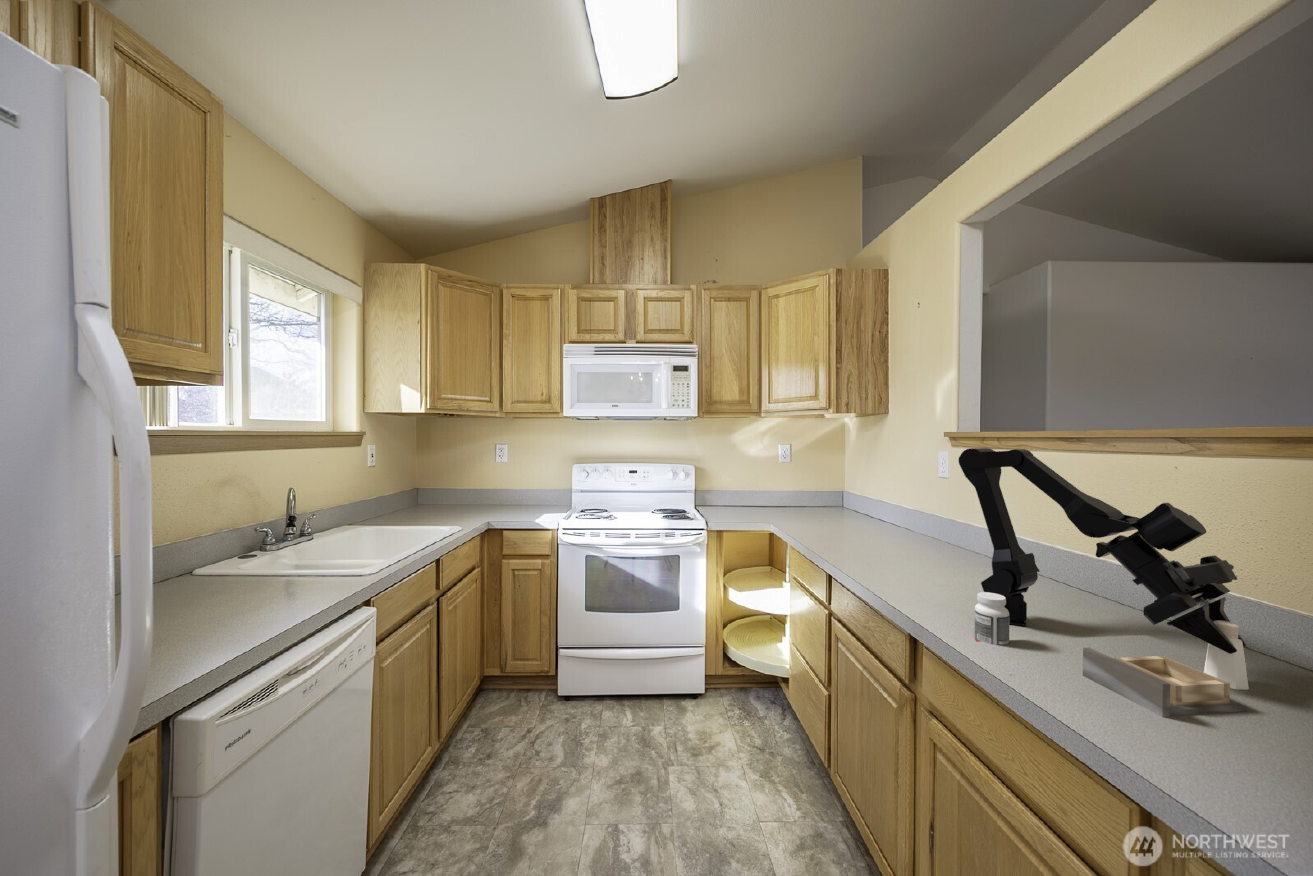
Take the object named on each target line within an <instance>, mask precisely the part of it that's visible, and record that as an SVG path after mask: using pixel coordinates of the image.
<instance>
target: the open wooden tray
mask: <svg viewBox="0 0 1313 876" xmlns="http://www.w3.org/2000/svg"><path fill="white" fill-rule="evenodd" d="M1114 658H1115V657H1112V656H1109V655H1107V654H1105V653H1103V652H1101V651H1099V650H1097V649H1094V648H1092V647H1089V646H1088V647H1083V648H1082V677H1085V678H1087V679H1088V680H1090V681H1092V682H1094V683H1096V684H1098V685H1100V686H1102V687H1104V688H1106V689H1108V690H1110V691H1112V692H1113V693H1115V694H1118V695H1119V696H1121V697H1123V698H1125V699H1127V700H1129V701H1131V702H1133V703H1134V704H1136V705H1139V706H1140V707H1143V708H1144V709H1146V710H1148V711H1149V712H1152V713H1154V714H1155V715H1157V716H1160V717H1161V718H1170V717H1171V716H1177V715H1178V716H1180V715H1181V716H1182V715H1184V716H1185V715H1199V714H1200V715H1201V714H1202V715H1203V714H1215V713H1216V714H1217V713H1218V714H1220V713H1234V712H1236V713H1237V712H1247V705H1245V704H1242V703H1240V702H1238V703H1237V702H1234V703H1233V702H1232V703H1231V702H1230V704H1212V705H1193V706H1175V707H1170V684H1169V683H1167V682H1165V681H1163V680H1160V679H1158V678H1156V677H1154V676H1151V675H1149V674H1147V673H1145V672H1143V671H1140V670H1138V669H1136V668H1134V667H1132V666H1129V665H1127V664H1125V663H1123V662H1121V661H1118V660H1116V659H1114Z"/></svg>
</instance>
